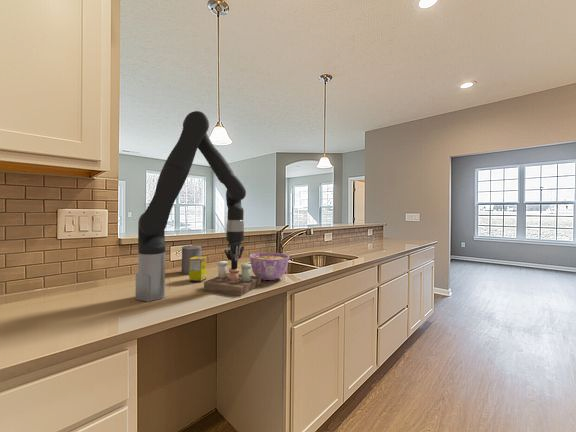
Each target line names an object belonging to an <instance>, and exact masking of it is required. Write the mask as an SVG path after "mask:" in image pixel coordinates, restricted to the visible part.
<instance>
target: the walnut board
mask: <svg viewBox="0 0 576 432" xmlns="http://www.w3.org/2000/svg"><path fill="white" fill-rule="evenodd" d="M241 280H242V273H238V281H230V272H227V278H224V279H220V278H218V276H216V277H213V278H210V279H208V280H204V281H203V291H208V292H214V293H221V294H225V295H226V294H227V295H231V296H232V295H233V296H239V297H242V296H244V295H245V294H247V293H249V292H250V291H252V290H254V289H255V288H258V287H260V286H261V285H262V279H261V277H257V276H256V275H250V281H249V282H242V281H241ZM257 286H258V287H257Z"/></svg>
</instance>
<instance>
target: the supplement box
mask: <svg viewBox="0 0 576 432" xmlns="http://www.w3.org/2000/svg"><path fill="white" fill-rule="evenodd" d="M188 278H189V279H188V280H189V282H190V283H191V282H194V283H195V282H196V283H202V282H205V281H206V279H207V256H201V257H193V258H190V260H189V277H188Z"/></svg>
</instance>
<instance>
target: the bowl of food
mask: <svg viewBox="0 0 576 432" xmlns="http://www.w3.org/2000/svg"><path fill="white" fill-rule="evenodd" d="M249 260H250V264H251V270H252V273H253V275H254V276H257V277H261V281H265V280H274V281H276V280H275V279H277V280H278V279H279V278H282V277H283V276H284V275H285V273H286V271H287V268H288V264H289V261H290V255H288V254H286V253H280V252H255V253H251V254H250V255H249Z"/></svg>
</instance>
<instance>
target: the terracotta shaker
mask: <svg viewBox="0 0 576 432" xmlns="http://www.w3.org/2000/svg"><path fill="white" fill-rule="evenodd" d="M239 272H240V268H238V267H237V269H235V270H234V269H231V267H230V268H229V269H228V273H230V281H238V274H239Z"/></svg>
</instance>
